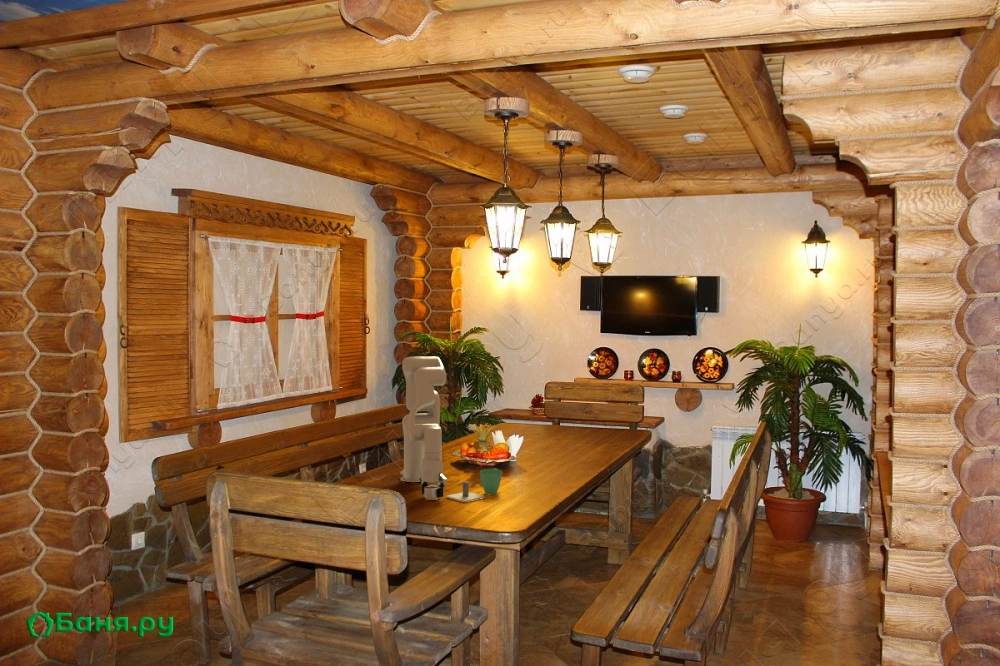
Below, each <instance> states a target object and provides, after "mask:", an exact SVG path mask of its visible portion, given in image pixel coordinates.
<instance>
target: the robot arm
mask: <svg viewBox="0 0 1000 666" xmlns="http://www.w3.org/2000/svg"><path fill="white" fill-rule="evenodd" d="M401 365H402V366H401V367H402V372H403V376H404V378H405V406H406V409H407V410H408V411H409V414H406V415H404V417H402V421H401V424H402V432H403V469H402V470H401V471H400V472H399V474H400V475H402V477H400V481H401V480H402V481H407V482H419V481H421V483H420V484H421V495H424V487H425V486H429V484H431V485H432V484H433V485H434V484H435V486H437V487H438V488H437V498H440V497H441V498H443V497H444V488H445V487H446V485H447V482H448V478H447V477H445V475H444V464H443V459H442V454H443V453H442V450H443V449H442V446H443V445H442V443H443V442H442V438H443V437H442V436H443V435H442V431H443V430H442V427H441V425H440V420H441V419H440V418H441V416H440V414H441V399H440V395H439V393H438V391H436V390H435V387H436V386H437V387H438V386H445V384H446V382H447V373H446V369H445V366H444V364H443V362H442V360H441V359H440V357H439V356H425V355H423V356H422V355H420V356H419V355H418V356H417V355H416V356H407V357H405V358H404V359H403V360H402V364H401ZM418 412H419V413H418ZM421 412H424V413H421ZM425 412H427V413H425ZM402 481H401V482H402Z"/></svg>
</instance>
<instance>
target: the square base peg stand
mask: <svg viewBox="0 0 1000 666" xmlns="http://www.w3.org/2000/svg"><path fill="white" fill-rule="evenodd" d="M469 485H470V482H469V481H462V492H459V493H453V494H449V495H445V498H446V497H449V498H453V499H457V500H461V501H464V502H466V501H471V500H476V499H480V498H485V499H486V495H482V494H478V493H474V492H471V491H469V490H470V488H469V487H470V486H469Z"/></svg>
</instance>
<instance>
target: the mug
mask: <svg viewBox="0 0 1000 666" xmlns="http://www.w3.org/2000/svg"><path fill="white" fill-rule="evenodd" d="M502 475H503V471H502V469H498V468H486V469H481V470H480V471H479V477H480V481H481V485H482V489H483V491H484V494H485V493H486V494H485V495H487V494H495V495H497V493H498V491H499V488H500V485H501V481H502Z"/></svg>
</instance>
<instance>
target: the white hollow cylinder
mask: <svg viewBox="0 0 1000 666" xmlns="http://www.w3.org/2000/svg"><path fill="white" fill-rule="evenodd" d="M437 488H438V487H437V485H434V484H433V485H432V484H431V485H428V486H425V487H424V494H423V498H424V497H425V498H428V499H438V498H437Z"/></svg>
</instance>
